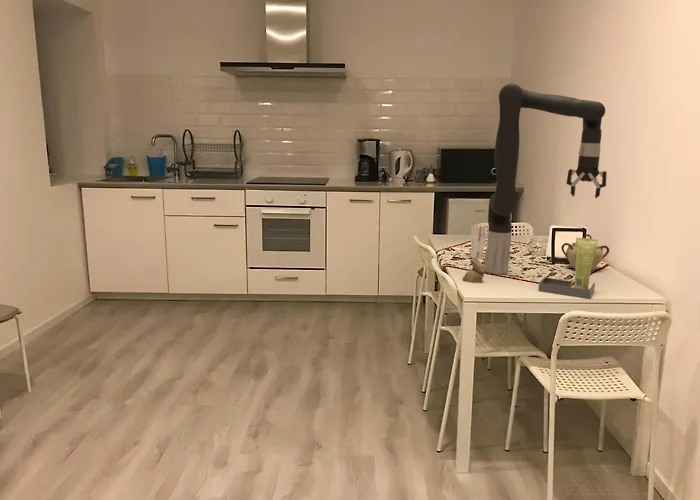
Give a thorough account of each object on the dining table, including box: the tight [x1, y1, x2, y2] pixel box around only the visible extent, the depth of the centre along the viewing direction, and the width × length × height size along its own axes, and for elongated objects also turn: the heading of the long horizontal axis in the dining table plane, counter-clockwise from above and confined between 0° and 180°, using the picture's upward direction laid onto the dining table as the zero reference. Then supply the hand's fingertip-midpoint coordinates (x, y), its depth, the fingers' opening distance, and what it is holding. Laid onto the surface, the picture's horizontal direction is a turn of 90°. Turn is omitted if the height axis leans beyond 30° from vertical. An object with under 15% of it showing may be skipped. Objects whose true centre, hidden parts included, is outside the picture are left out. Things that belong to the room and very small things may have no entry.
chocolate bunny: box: [462, 257, 486, 284], centre depth 233 cm, size 6×8×10 cm
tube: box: [573, 237, 599, 290], centre depth 223 cm, size 6×5×20 cm
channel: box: [538, 276, 596, 300], centre depth 224 cm, size 18×12×3 cm, turn 61°
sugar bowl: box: [561, 233, 610, 271], centre depth 258 cm, size 20×15×15 cm
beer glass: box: [469, 223, 487, 260], centre depth 273 cm, size 7×7×15 cm
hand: (584, 196), depth 235 cm, fingers open, 8 cm apart
